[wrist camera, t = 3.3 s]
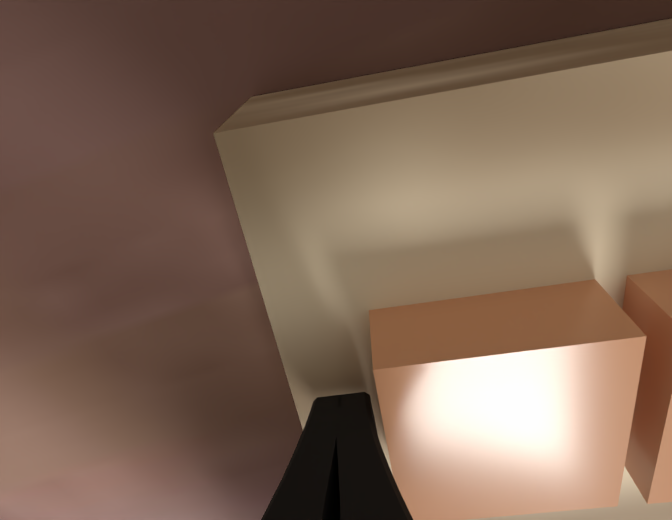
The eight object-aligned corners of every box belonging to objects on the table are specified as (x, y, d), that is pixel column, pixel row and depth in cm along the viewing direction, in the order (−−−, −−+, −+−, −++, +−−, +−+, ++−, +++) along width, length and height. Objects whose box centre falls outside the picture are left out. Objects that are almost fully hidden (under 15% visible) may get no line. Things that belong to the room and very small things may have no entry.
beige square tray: (708, 413, 17) (799, 516, 14) (341, 451, 19) (339, 553, 15) (828, -12, 11) (1056, -19, 7) (251, 96, 12) (213, 133, 9)
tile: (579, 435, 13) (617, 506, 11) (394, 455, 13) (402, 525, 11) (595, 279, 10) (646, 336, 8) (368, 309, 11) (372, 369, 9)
